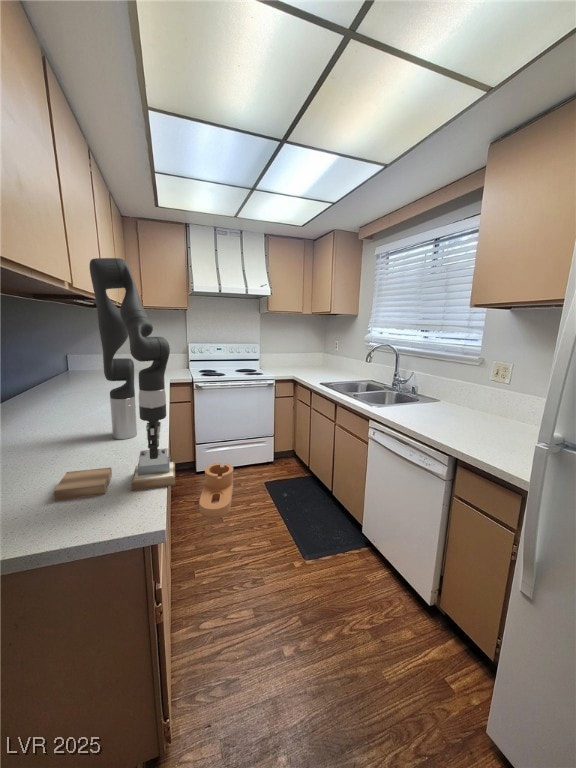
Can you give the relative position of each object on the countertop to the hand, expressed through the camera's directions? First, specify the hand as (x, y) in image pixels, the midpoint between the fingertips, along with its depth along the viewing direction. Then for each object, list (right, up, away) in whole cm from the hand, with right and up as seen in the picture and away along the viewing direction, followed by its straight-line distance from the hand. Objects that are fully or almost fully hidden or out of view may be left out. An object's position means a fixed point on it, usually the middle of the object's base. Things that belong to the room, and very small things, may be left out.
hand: (154, 452), depth 96 cm
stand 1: (-18, -9, -5) cm, 21 cm away
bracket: (+21, -12, -7) cm, 26 cm away
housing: (0, -6, +1) cm, 6 cm away
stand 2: (0, -9, +2) cm, 9 cm away
